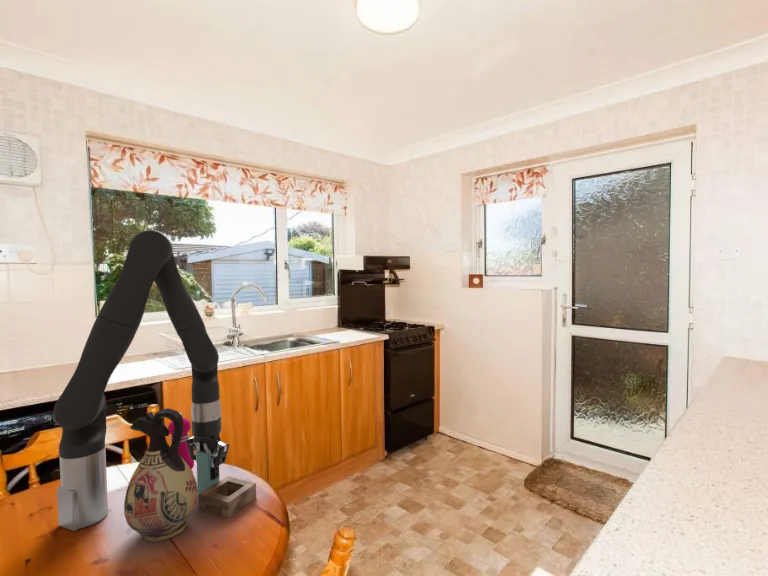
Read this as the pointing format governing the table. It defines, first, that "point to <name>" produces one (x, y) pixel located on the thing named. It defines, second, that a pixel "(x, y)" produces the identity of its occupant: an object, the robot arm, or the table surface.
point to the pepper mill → (183, 441)
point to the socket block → (223, 505)
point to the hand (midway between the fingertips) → (208, 476)
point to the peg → (204, 472)
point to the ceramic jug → (160, 482)
